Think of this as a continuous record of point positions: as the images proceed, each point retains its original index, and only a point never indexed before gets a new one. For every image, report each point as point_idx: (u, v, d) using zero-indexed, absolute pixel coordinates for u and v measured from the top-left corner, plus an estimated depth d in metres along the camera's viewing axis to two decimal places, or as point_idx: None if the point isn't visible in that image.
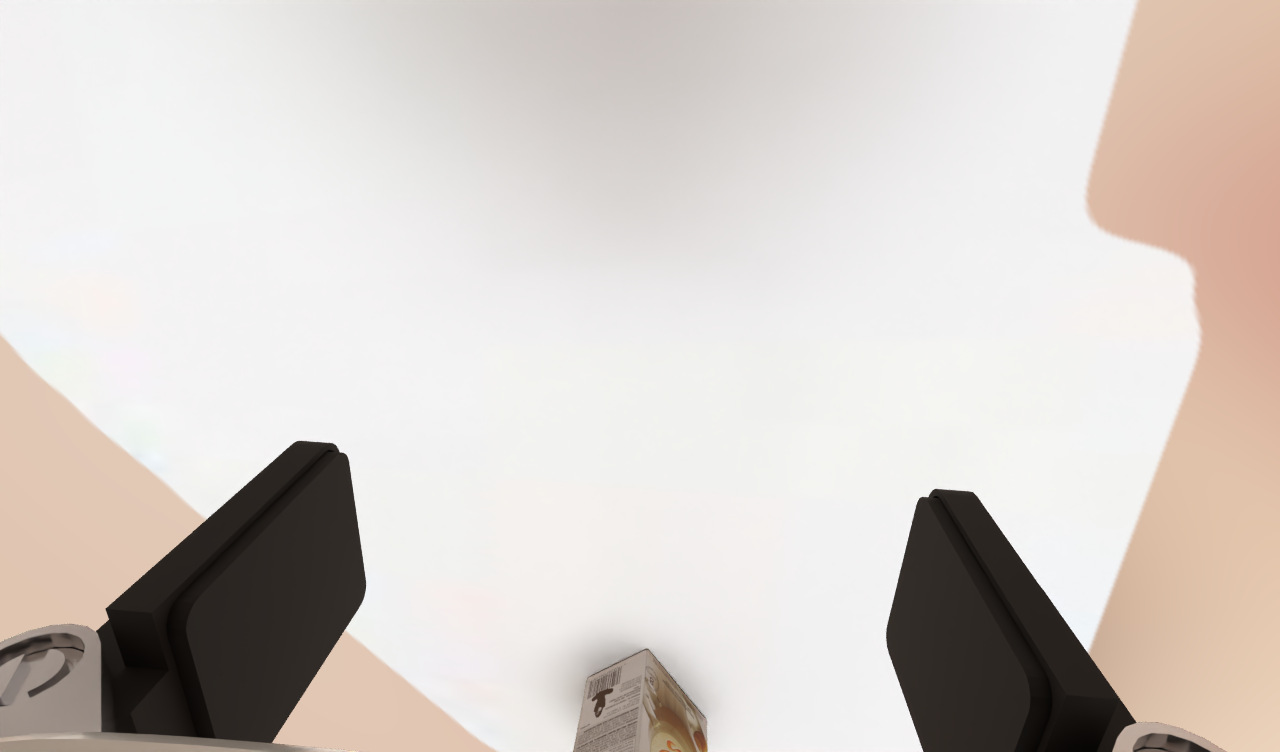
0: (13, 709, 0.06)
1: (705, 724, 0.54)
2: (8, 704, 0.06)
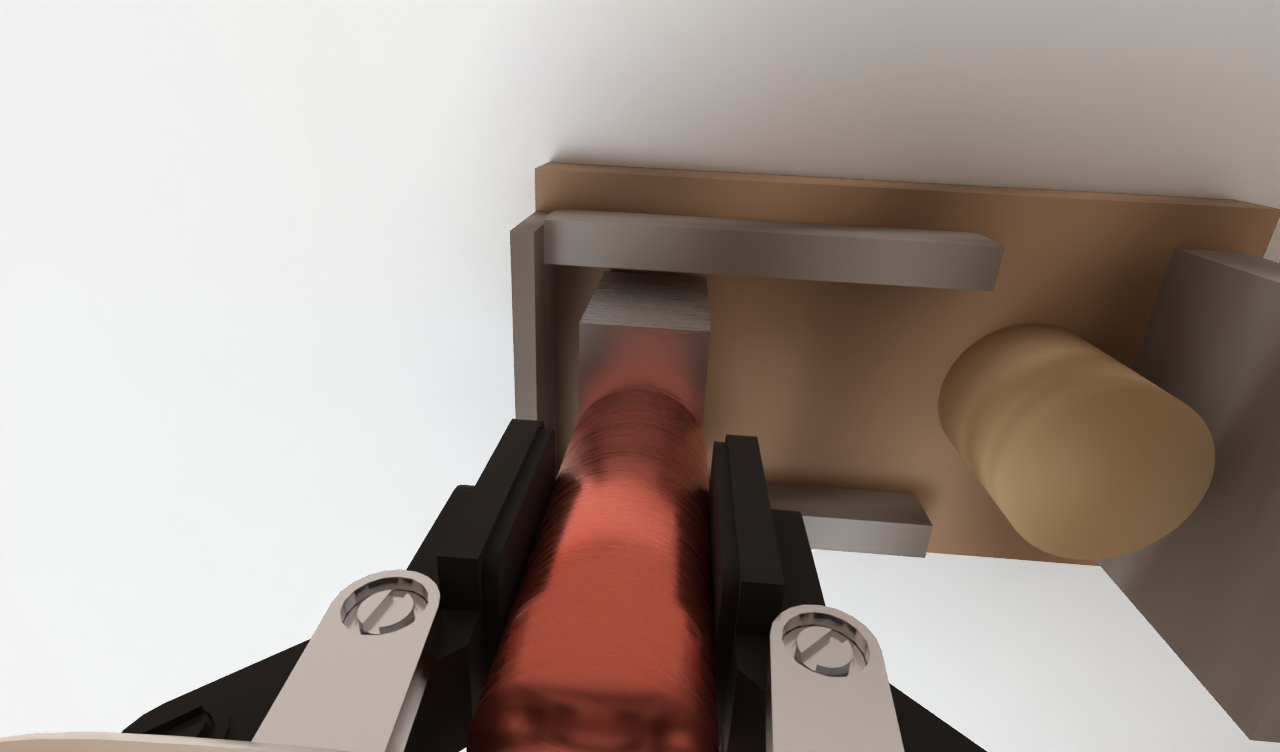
0: (364, 640, 0.07)
1: None
2: (364, 632, 0.07)
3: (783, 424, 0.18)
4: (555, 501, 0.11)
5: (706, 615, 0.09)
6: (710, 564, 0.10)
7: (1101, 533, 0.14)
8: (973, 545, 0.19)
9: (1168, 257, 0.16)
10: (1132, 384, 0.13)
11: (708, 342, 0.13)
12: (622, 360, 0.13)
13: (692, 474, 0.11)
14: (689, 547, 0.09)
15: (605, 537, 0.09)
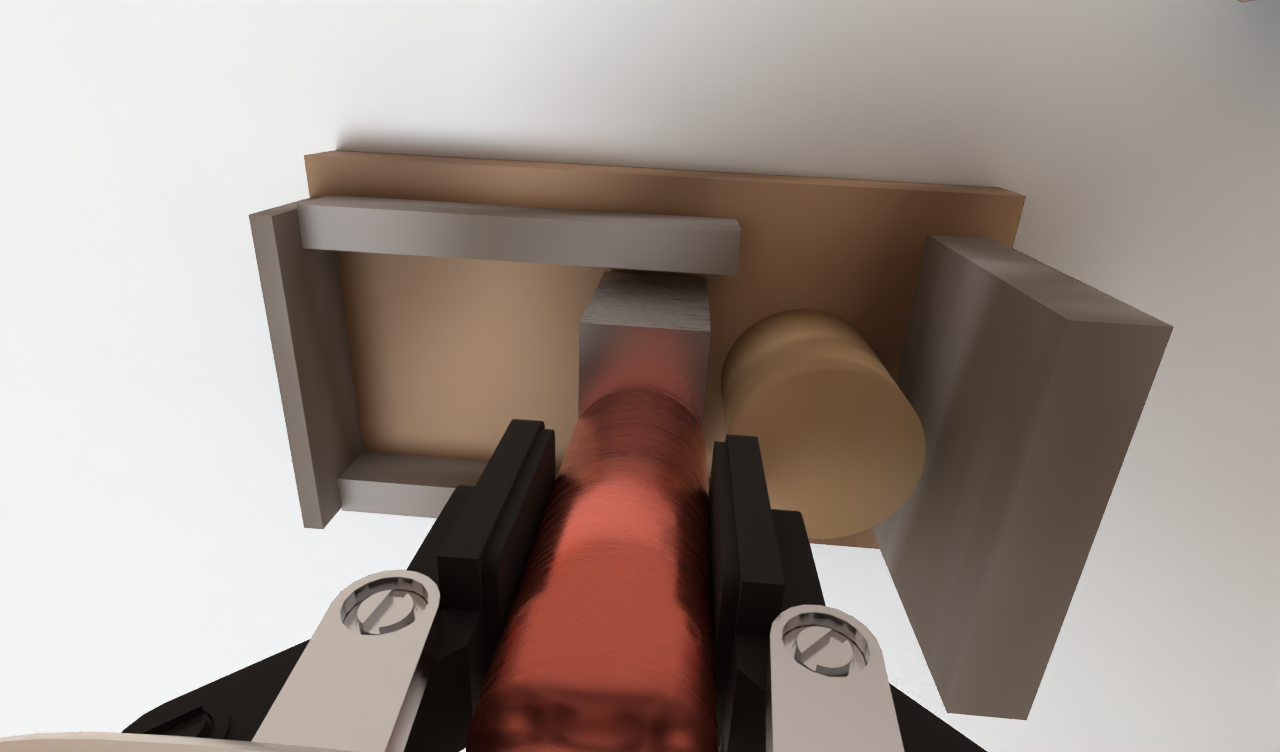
0: (364, 639, 0.07)
1: None
2: (364, 632, 0.07)
3: (575, 409, 0.18)
4: (555, 501, 0.11)
5: (706, 615, 0.09)
6: (710, 564, 0.10)
7: (829, 511, 0.14)
8: None
9: (922, 243, 0.16)
10: (838, 365, 0.13)
11: (708, 342, 0.13)
12: (622, 360, 0.13)
13: (692, 474, 0.11)
14: (688, 547, 0.09)
15: (605, 536, 0.09)
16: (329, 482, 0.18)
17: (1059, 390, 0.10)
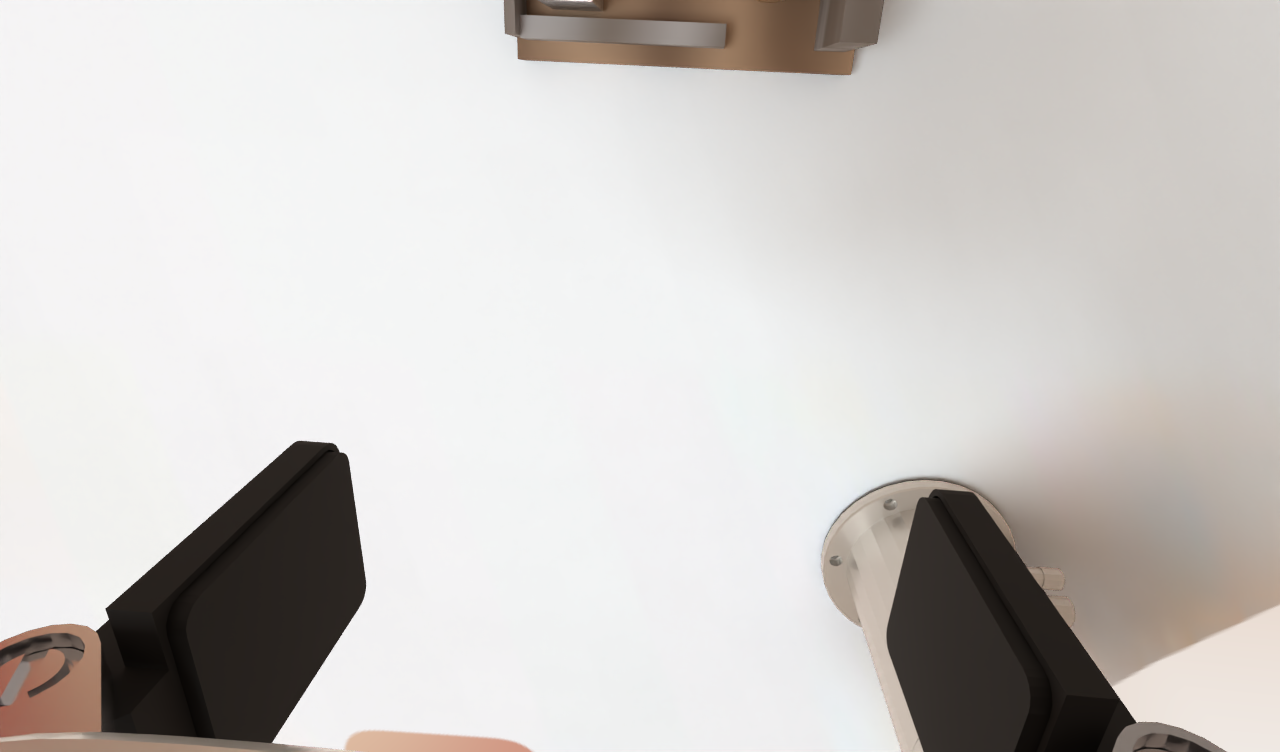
0: (13, 709, 0.06)
1: None
2: (8, 704, 0.06)
3: None
4: None
5: None
6: None
7: None
8: (760, 62, 0.34)
9: None
10: None
11: None
12: None
13: None
14: None
15: None
16: (517, 10, 0.32)
17: None
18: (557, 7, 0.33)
